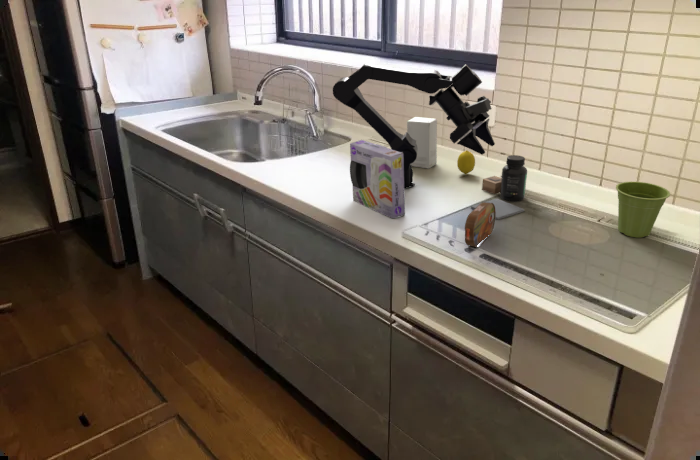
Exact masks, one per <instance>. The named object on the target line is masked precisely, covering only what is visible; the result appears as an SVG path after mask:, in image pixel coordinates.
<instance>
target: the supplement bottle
mask: <svg viewBox="0 0 700 460" xmlns="http://www.w3.org/2000/svg"><path fill="white" fill-rule="evenodd" d="M525 159H526V158H525V156H522V155H518V154H517V155H516V154H514V155H513V154H512V155H508V156H507V157H506V161H505V162H506V163H505V164H506V165H504V166H503V167H502V170H501V177H500V178H501V189H500V193H499V196H500V199H502V201H505V202H512V203H514V202H515V203H516V202H522V201H523V200H524V199H525V195H526V186H527V178H528V169H527V168H526V166H525V163H526V162H525Z"/></svg>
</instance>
